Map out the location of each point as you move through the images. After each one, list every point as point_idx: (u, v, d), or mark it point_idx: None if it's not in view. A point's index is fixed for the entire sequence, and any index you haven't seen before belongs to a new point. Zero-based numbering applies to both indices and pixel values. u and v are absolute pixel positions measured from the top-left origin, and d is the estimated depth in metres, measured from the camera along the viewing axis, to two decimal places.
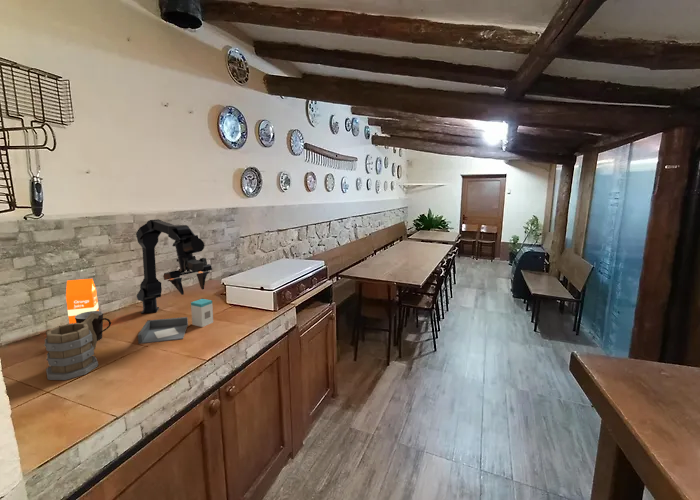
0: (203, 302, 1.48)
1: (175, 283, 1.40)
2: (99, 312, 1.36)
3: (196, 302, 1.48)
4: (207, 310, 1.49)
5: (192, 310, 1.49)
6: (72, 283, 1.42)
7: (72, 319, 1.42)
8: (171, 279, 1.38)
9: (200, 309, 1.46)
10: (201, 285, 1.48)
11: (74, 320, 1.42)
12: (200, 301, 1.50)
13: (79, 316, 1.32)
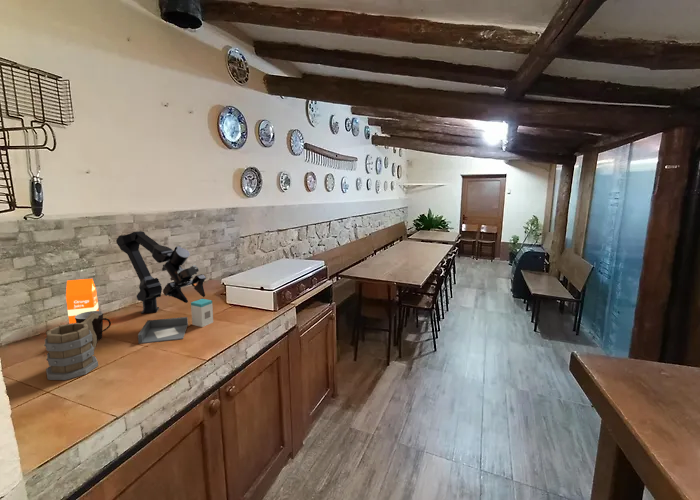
0: (203, 302, 1.48)
1: (176, 295, 1.47)
2: (99, 312, 1.36)
3: (196, 302, 1.48)
4: (207, 310, 1.49)
5: (192, 310, 1.49)
6: (72, 283, 1.42)
7: (72, 319, 1.42)
8: (171, 291, 1.45)
9: (200, 309, 1.46)
10: (201, 293, 1.55)
11: (74, 320, 1.42)
12: (200, 301, 1.50)
13: (79, 316, 1.32)
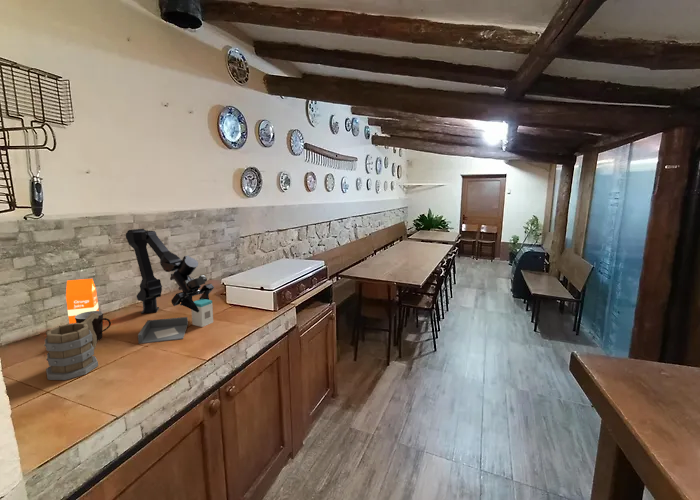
0: (203, 302, 1.48)
1: (188, 304, 1.47)
2: (99, 312, 1.36)
3: (196, 302, 1.48)
4: (207, 310, 1.49)
5: (192, 310, 1.48)
6: (72, 283, 1.42)
7: (72, 319, 1.42)
8: (182, 300, 1.45)
9: (200, 309, 1.46)
10: None
11: (74, 320, 1.42)
12: (200, 301, 1.50)
13: (79, 316, 1.32)
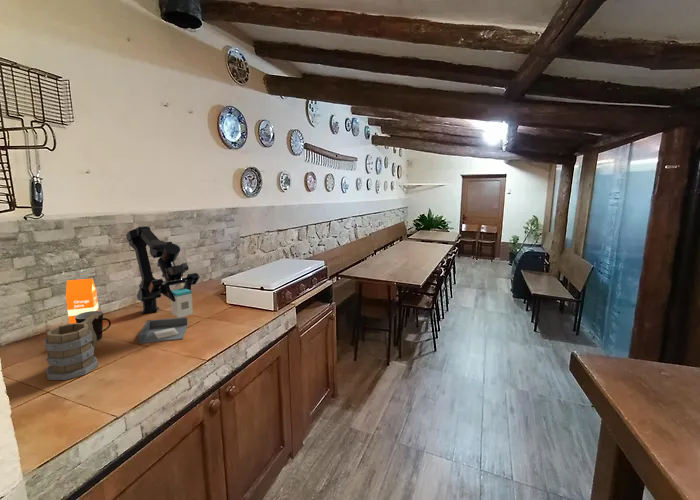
0: (181, 291, 1.40)
1: (165, 293, 1.40)
2: (99, 312, 1.36)
3: (174, 291, 1.40)
4: (184, 300, 1.40)
5: None
6: (72, 283, 1.42)
7: (72, 319, 1.42)
8: (159, 288, 1.38)
9: (176, 299, 1.38)
10: None
11: (74, 320, 1.42)
12: (180, 290, 1.42)
13: (79, 316, 1.32)
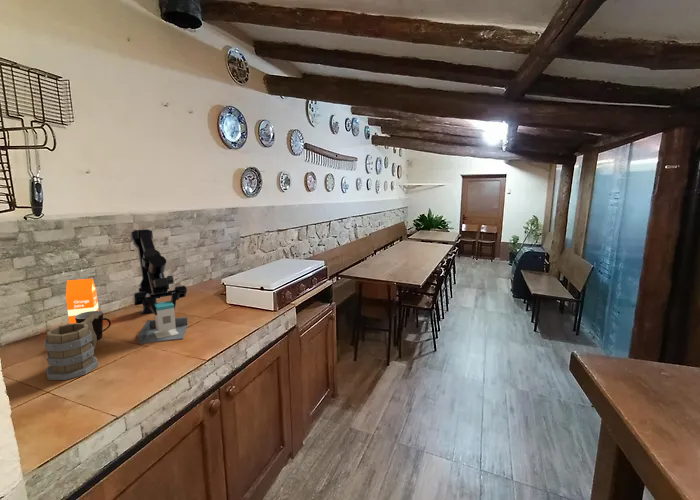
0: (163, 305, 1.36)
1: (149, 305, 1.37)
2: (99, 312, 1.36)
3: (158, 304, 1.37)
4: (166, 314, 1.36)
5: None
6: (72, 283, 1.42)
7: (72, 319, 1.42)
8: (143, 301, 1.36)
9: (157, 313, 1.34)
10: None
11: (74, 320, 1.42)
12: (163, 303, 1.38)
13: (79, 316, 1.32)
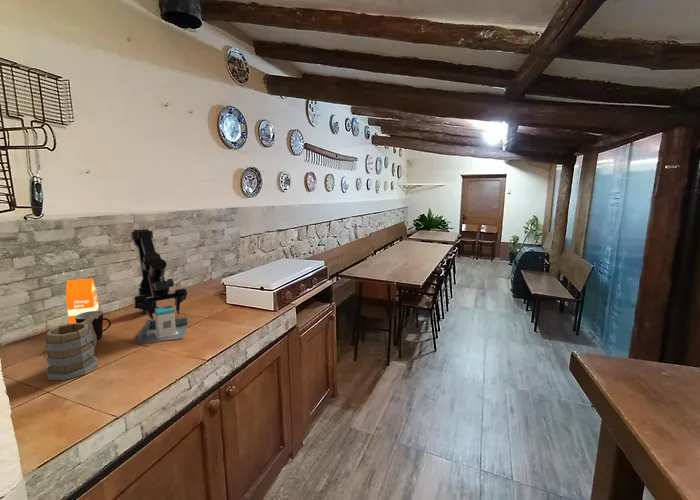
0: (163, 310, 1.36)
1: (145, 309, 1.36)
2: (99, 312, 1.36)
3: (158, 309, 1.38)
4: (166, 319, 1.36)
5: (155, 317, 1.39)
6: (72, 283, 1.42)
7: (72, 319, 1.42)
8: None
9: (157, 318, 1.35)
10: (176, 310, 1.41)
11: (74, 320, 1.42)
12: (164, 308, 1.39)
13: (79, 316, 1.32)
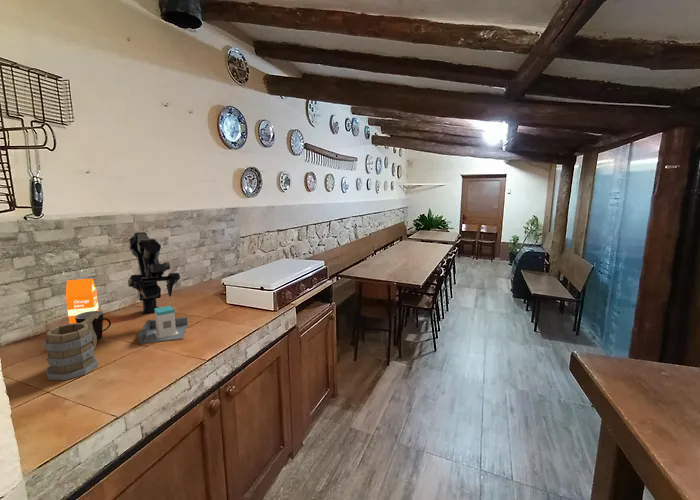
0: (163, 310, 1.36)
1: (139, 289, 1.42)
2: (99, 312, 1.36)
3: (158, 309, 1.38)
4: (166, 319, 1.36)
5: (155, 317, 1.39)
6: (72, 283, 1.42)
7: (72, 319, 1.42)
8: (134, 283, 1.41)
9: (157, 318, 1.35)
10: (169, 292, 1.48)
11: (74, 320, 1.42)
12: (164, 308, 1.39)
13: (79, 316, 1.32)
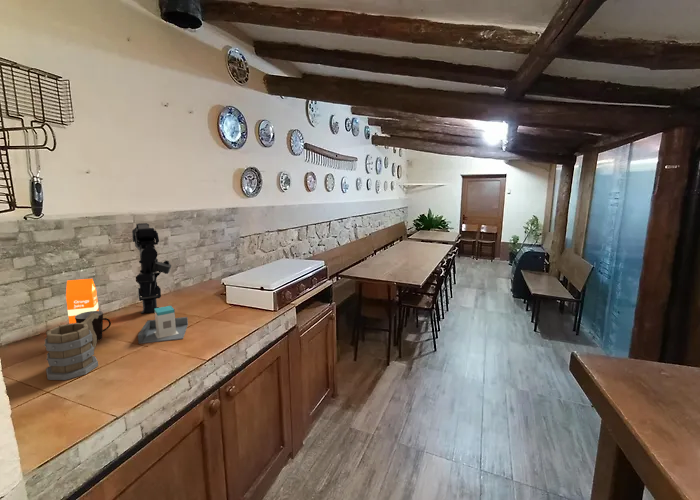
0: (163, 310, 1.36)
1: (143, 285, 1.44)
2: (99, 312, 1.36)
3: (158, 309, 1.38)
4: (166, 319, 1.36)
5: (155, 317, 1.39)
6: (72, 283, 1.42)
7: (72, 319, 1.42)
8: (145, 281, 1.43)
9: (157, 318, 1.35)
10: (152, 285, 1.55)
11: (74, 320, 1.42)
12: (164, 308, 1.39)
13: (79, 316, 1.32)
